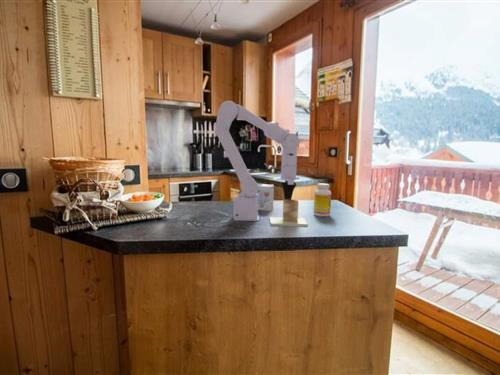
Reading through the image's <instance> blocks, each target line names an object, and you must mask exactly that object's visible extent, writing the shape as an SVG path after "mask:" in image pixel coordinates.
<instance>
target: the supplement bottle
mask: <svg viewBox="0 0 500 375" xmlns="http://www.w3.org/2000/svg"><path fill="white" fill-rule="evenodd" d="M329 188H330V184H329V183H322V182H321V183H320V182H319V183H317V189H316V190H314V193H313V194H314V198H313V215H314V216H317V217H329V216H330V215H331V205H332V204H331V203H332V192H331V190H329Z"/></svg>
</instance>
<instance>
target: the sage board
mask: <svg viewBox="0 0 500 375" xmlns="http://www.w3.org/2000/svg"><path fill="white" fill-rule="evenodd" d="M269 224H270V226H271V227H308V225H309V224H308V222H307V221H306V219H305V218H304V217H298V222H284V221H283V216H281V217H279V216H278V217H275V216H270V217H269Z"/></svg>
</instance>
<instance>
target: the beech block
mask: <svg viewBox="0 0 500 375" xmlns="http://www.w3.org/2000/svg"><path fill="white" fill-rule="evenodd" d="M282 201H283V203H282V204H283V205H282V217H283V221H284V222H298V218H299V200H298V199H291V200H286V199H284V198H283V200H282Z"/></svg>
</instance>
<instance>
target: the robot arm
mask: <svg viewBox="0 0 500 375" xmlns="http://www.w3.org/2000/svg"><path fill="white" fill-rule="evenodd" d="M216 114H217V116H216V123H215V130H214V131H215V133H216V136H217V137H218V140H219V142H220V143H221V146H222V148H223V150H224V152H225V153H226V155H227V158H228V160H229V162H230V164H231V166H232V168H233V169H234V172H235V174H236V176H237V177H238V180H239V186H240V189H241V192H240V193H239V195H234V196H233V211H232V212H233V213H232V215H233V221H240V222H241V221H243V222H244V221H248V222H249V221H251V222H252V221H254V222H257V221H258V222H259V221H260V216H259V210H258V194H257V192H258V189H259V186H258V184H259V183H258V182H257V181H256V180H255V178H253V177H252V175H251V174H250V172H249V170H248V168H247V166H246V163H245V162H244V159H243V156H242V155H241V154H240V151H239V149H238V147H237V145H236V143H235V141H234V139H233V137H232V135H231V133H230V127H231V125H232V122H234V120H235V119H236V120H237V121H246V122H248V123H250V124H252V125H253V126H254V127H257V128H259V129H260V130H262V131H263V135H264V136H265V137H267V138H269V139H270V140H272V141H273V142H275V143H277V144H279V145H280V146H281V148H282V150H281V165H280V166H281V167H280V168H281V170H280V180H282V181H280V185H281V188H282V192H283V197H284V198H283V199H286V200H292V198H293V193H294V190H295V188H296V186H297V183H296V182H295V181H297V180H300V177H299V176H297V166H298V164H297V163H298V162H297V161H298V147H299V146H300V139H299V137H298V135H297V134H295V133H291V132H290V129H286V128H284V127H282V126H281V125H280V123H279V122H277V121H276V122H274V121H269V122H267V121H265V120H264V119H263V118H261V117H260V116H259V115H257V114H255V113H253V112H252V111H250V110H249V109H247V108H246V107H244V106H243V105H240V104H236V102H234V101H232V100H225V101H223V102H222V103H221V104H220V107H219V109H218V110H217V113H216Z"/></svg>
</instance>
